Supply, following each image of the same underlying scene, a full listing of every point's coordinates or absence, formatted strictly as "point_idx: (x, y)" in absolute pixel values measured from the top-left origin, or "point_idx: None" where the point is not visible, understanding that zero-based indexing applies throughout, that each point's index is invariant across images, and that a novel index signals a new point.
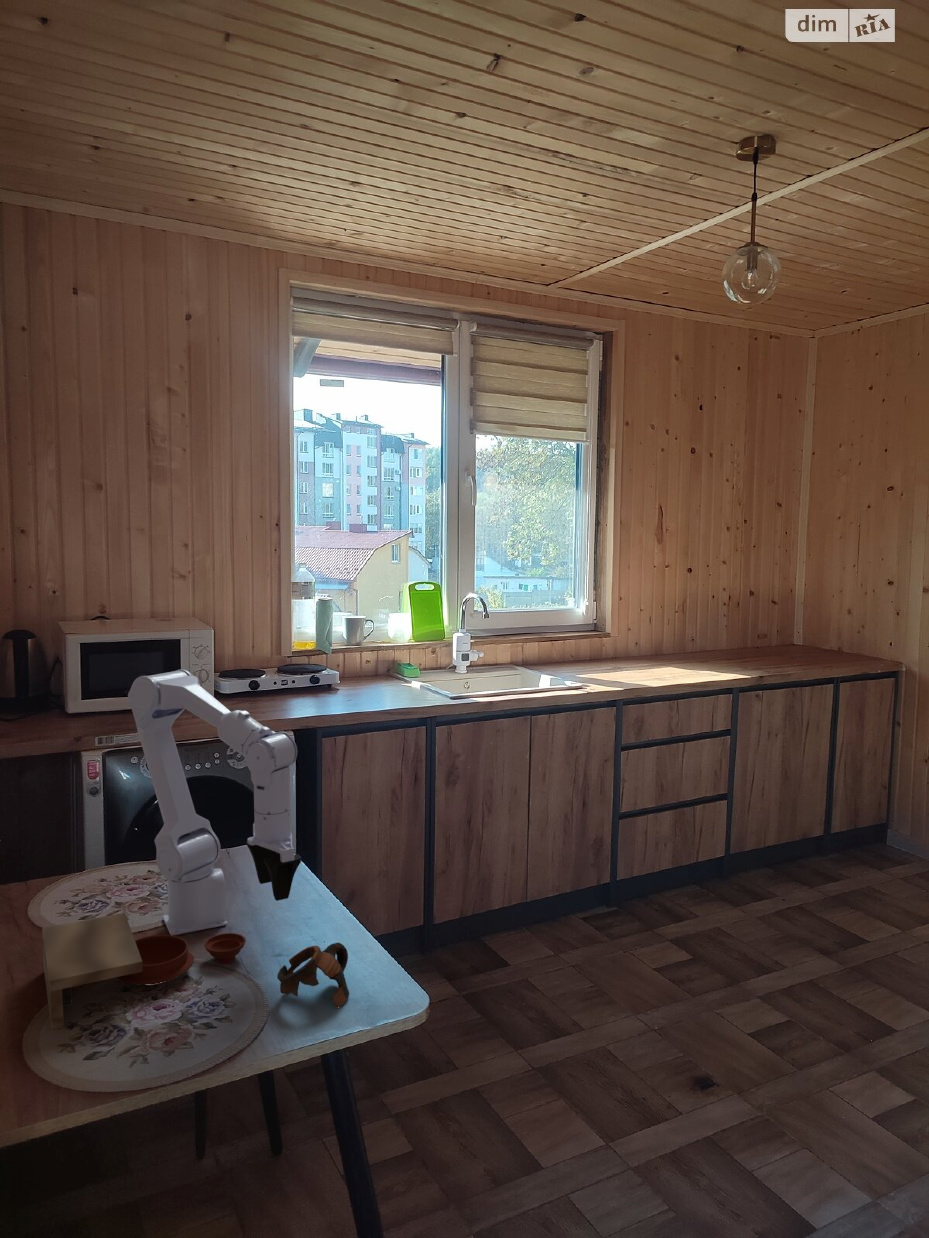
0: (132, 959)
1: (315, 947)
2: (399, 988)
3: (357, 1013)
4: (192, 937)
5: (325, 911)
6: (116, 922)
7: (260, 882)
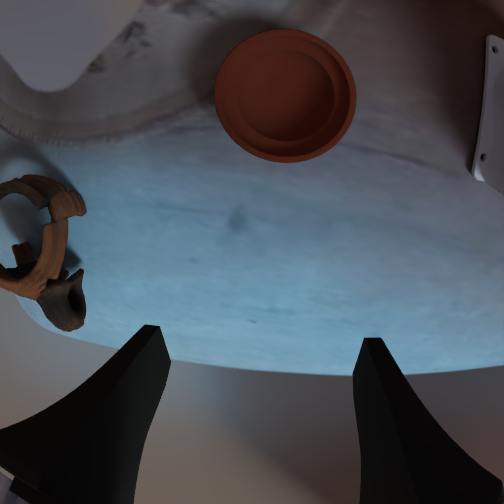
0: None
1: (10, 284)
2: None
3: None
4: (460, 71)
5: None
6: None
7: (364, 342)
